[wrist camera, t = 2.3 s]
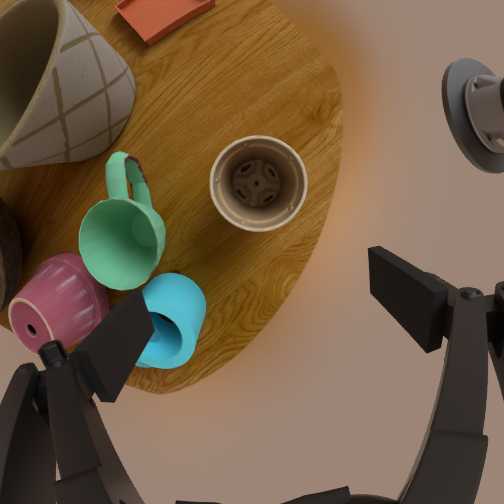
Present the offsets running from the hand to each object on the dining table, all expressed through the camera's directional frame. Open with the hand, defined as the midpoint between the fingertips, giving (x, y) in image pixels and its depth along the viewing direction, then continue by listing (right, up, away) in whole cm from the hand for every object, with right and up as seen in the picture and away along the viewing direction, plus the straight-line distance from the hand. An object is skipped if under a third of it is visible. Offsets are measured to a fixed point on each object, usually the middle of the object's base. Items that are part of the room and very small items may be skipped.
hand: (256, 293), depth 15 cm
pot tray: (-13, +39, +12) cm, 43 cm away
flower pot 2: (0, +11, +20) cm, 23 cm away
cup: (-12, -6, +24) cm, 28 cm away
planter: (-24, +23, +16) cm, 37 cm away
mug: (-14, +8, +20) cm, 26 cm away
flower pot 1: (-29, -8, +11) cm, 32 cm away
